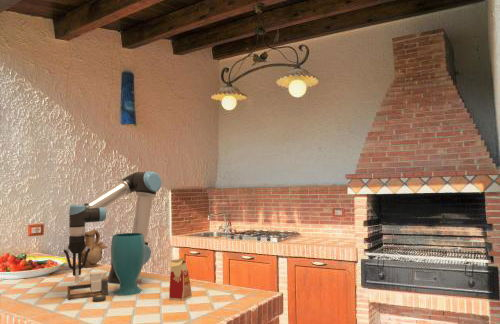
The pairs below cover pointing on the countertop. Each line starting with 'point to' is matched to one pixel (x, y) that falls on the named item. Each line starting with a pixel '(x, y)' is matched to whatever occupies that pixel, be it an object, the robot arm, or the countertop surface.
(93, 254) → the ceramic vessel
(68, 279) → the countertop surface
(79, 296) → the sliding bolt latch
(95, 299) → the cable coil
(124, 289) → the vase
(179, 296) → the milk carton
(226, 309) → the countertop surface
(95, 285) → the sleeve
